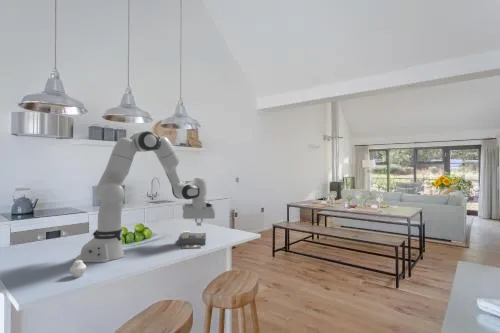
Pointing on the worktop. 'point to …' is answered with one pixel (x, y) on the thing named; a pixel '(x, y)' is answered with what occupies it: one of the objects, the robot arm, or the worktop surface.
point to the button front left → (185, 235)
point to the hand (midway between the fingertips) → (198, 225)
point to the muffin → (78, 268)
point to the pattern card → (190, 246)
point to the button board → (192, 240)
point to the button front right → (198, 235)
